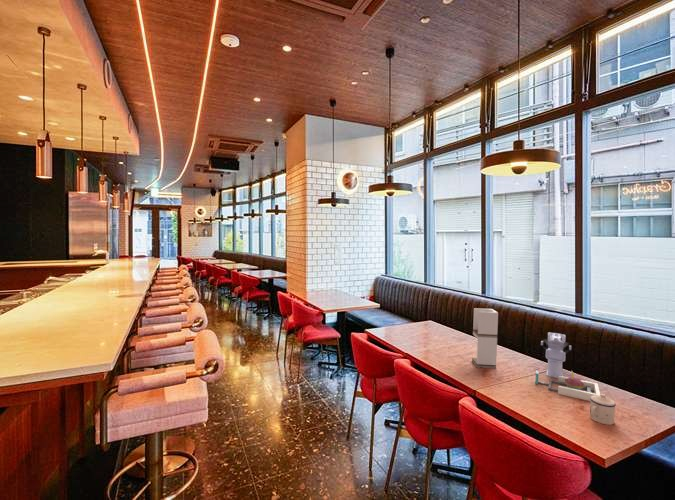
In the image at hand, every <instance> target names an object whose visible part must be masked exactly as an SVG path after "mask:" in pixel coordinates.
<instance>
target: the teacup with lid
mask: <svg viewBox="0 0 675 500" xmlns="http://www.w3.org/2000/svg"><path fill="white" fill-rule="evenodd" d="M590 400H591V401H590V404H589V408H590V409H589V417H590V419H591V420H592V421H595V422H596V423H599V424H602V425H609V426H611V425H613V424H614V423H615V415H616V414H615V413H616V406H617V404H616V402H615V401H614V400H613V399H611V398H609V397H608V396H607V395H606V394H604V393H600V395H598V396H597V395H594V396H591V398H590Z"/></svg>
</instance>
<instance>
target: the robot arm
mask: <svg viewBox="0 0 675 500" xmlns="http://www.w3.org/2000/svg"><path fill="white" fill-rule="evenodd" d="M566 338H567V337H566V334H562V333H557V332H550V331H549V332H547V338H544V339H543V340H541V341H540V346H542V349H544V350H545V359H547V370H546V376H547V377H552V378H556V379H558V378H559V376H563V377H564V375H563V362H566V354H569V351H572V345H570V344H569V343H570V342H566Z"/></svg>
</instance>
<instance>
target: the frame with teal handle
mask: <svg viewBox="0 0 675 500" xmlns="http://www.w3.org/2000/svg"><path fill="white" fill-rule="evenodd" d="M539 373H540V372H539V371H538V370H536V371H535V385H539V384H540V385H543V386H548V391H551V392H557V393H558V388H554V387H553V388H552V384H558V385H560V386H564V387H567V385H566V384H565V383H563V382H558V381H557V380H552V379H549V380H548V383H547V382H543V381H539ZM581 390H583V391H586V392H590V393H592V390H591V389H590V386H587V388H586V387H584V388H582V389H581Z"/></svg>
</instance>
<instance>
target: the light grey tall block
mask: <svg viewBox="0 0 675 500" xmlns="http://www.w3.org/2000/svg"><path fill="white" fill-rule="evenodd" d="M472 325H473V327H472V335H473V336H474V337H475V338H476V339H477V342H476V343H477V345H476V348H477V349H476V357H472V358H471V361H472V363H473V364H474V366H475V367H476V368H480V367H482V369H483V368H484V369H485V368H486V369H497V354H498V353H497V352H498V351H497V350H498V331H499V330H498V329H499V328H498V327H499V326H498V325H499V312H498V311H496V310H494V309H493V308H481V307H480V308H479V307H478V308H477V307H475V308H473V323H472Z"/></svg>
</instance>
